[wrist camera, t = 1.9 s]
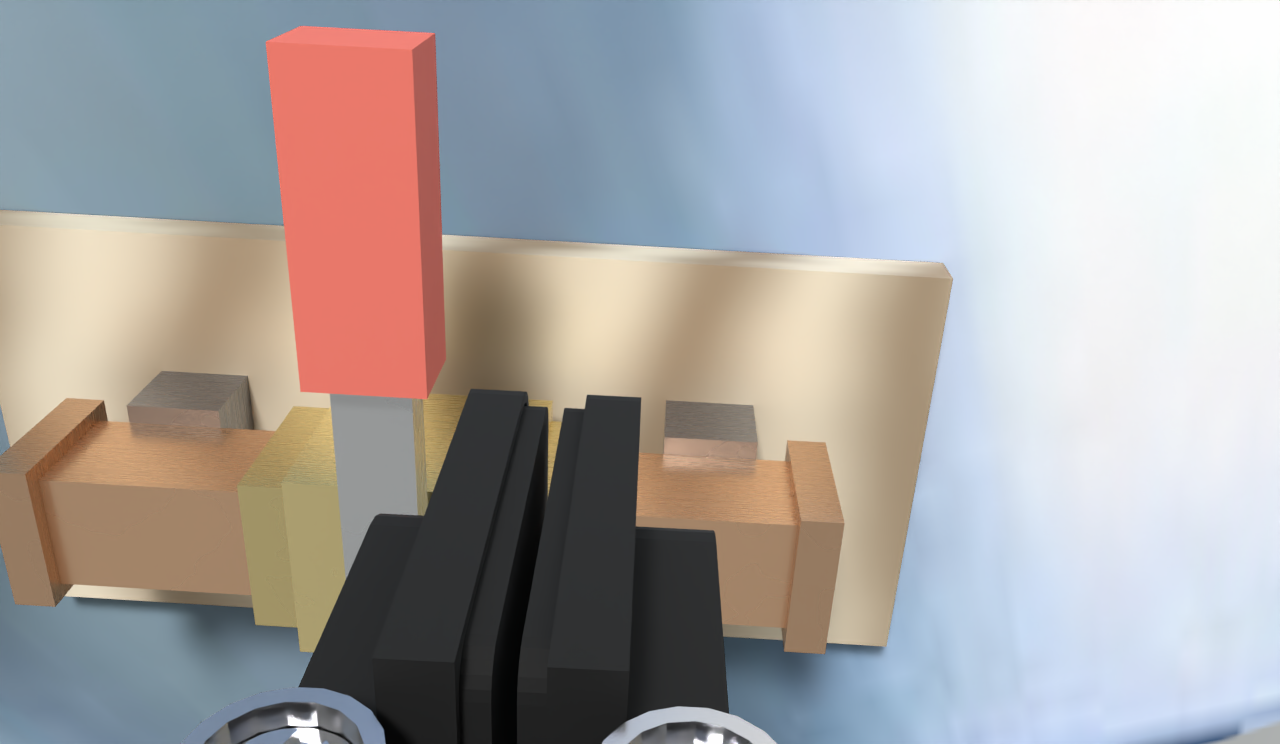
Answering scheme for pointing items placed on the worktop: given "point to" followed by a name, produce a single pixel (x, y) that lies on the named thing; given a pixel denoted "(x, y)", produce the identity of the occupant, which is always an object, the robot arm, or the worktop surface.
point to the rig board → (513, 350)
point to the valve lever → (364, 251)
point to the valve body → (310, 516)
